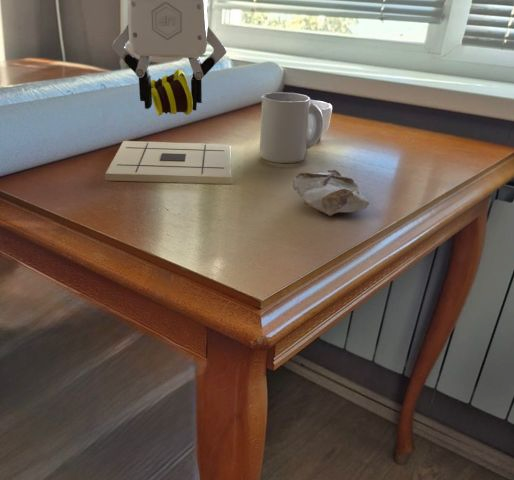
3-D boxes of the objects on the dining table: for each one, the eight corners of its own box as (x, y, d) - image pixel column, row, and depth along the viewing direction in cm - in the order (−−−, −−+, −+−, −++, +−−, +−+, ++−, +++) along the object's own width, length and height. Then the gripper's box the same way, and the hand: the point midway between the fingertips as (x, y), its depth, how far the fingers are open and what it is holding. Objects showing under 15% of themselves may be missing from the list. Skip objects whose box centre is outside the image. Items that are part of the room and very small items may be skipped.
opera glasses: (156, 108, 90) (148, 72, 87) (191, 101, 90) (184, 65, 87) (157, 124, 82) (148, 85, 79) (196, 116, 82) (187, 77, 79)
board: (105, 180, 82) (105, 172, 82) (123, 147, 97) (123, 140, 96) (231, 184, 83) (231, 176, 83) (230, 150, 98) (230, 143, 97)
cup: (253, 151, 98) (255, 92, 93) (311, 149, 100) (316, 91, 95) (268, 164, 92) (271, 102, 87) (328, 161, 95) (335, 101, 90)
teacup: (286, 130, 111) (289, 98, 108) (329, 132, 110) (332, 101, 107) (283, 144, 102) (285, 110, 99) (329, 147, 102) (332, 113, 99)
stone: (284, 188, 83) (285, 164, 81) (348, 187, 84) (351, 163, 83) (305, 221, 73) (308, 194, 71) (377, 218, 75) (381, 192, 73)
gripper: (90, -48, 72) (105, 111, 82) (235, -41, 73) (232, 115, 83) (101, -48, 78) (114, 100, 88) (234, -42, 79) (232, 104, 89)
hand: (171, 106), depth 86 cm, fingers closed on opera glasses, 5 cm apart
